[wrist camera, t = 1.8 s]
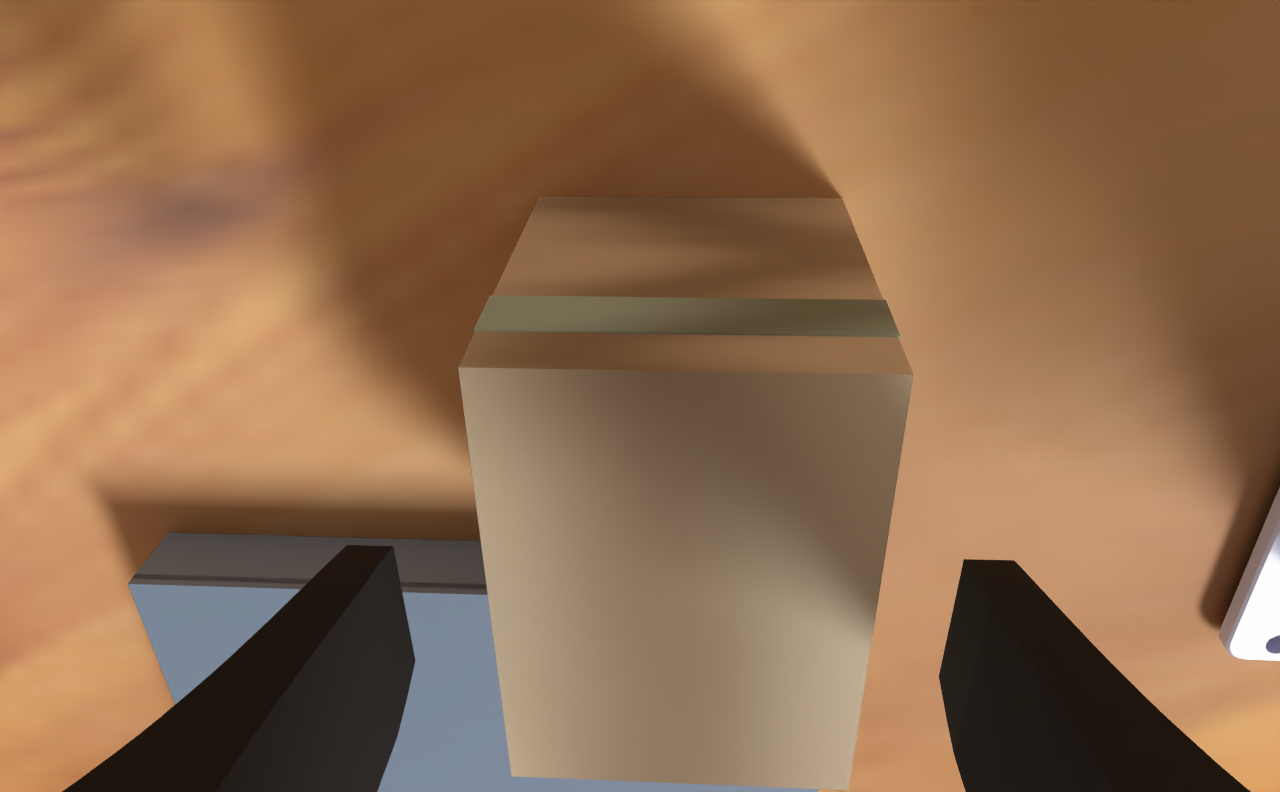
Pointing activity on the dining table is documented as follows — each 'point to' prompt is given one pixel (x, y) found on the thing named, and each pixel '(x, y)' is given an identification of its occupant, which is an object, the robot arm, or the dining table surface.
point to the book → (440, 632)
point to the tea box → (685, 487)
